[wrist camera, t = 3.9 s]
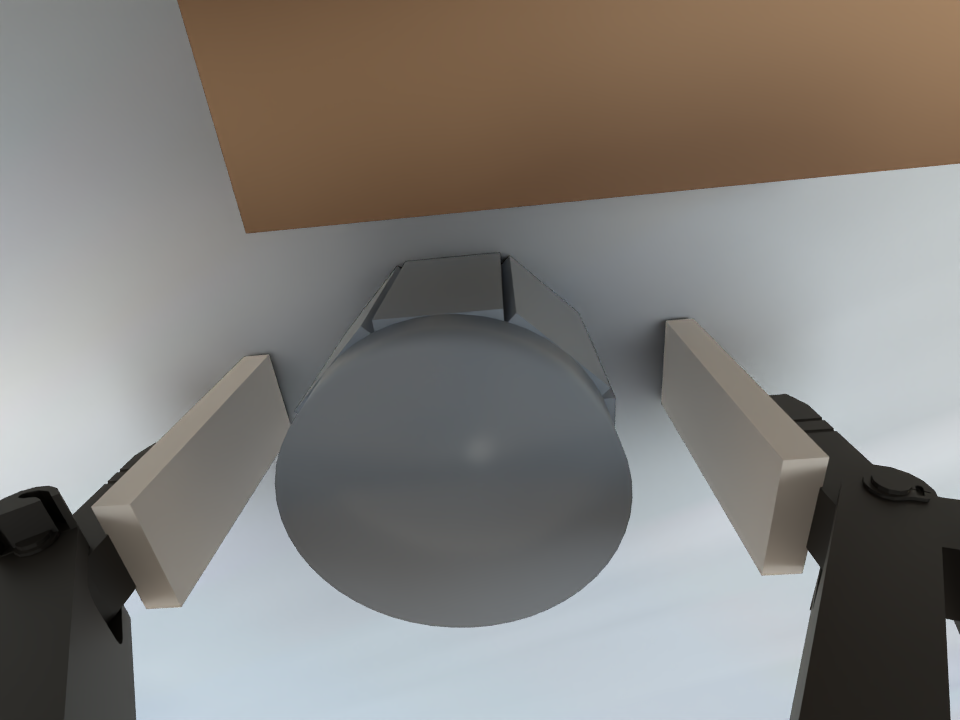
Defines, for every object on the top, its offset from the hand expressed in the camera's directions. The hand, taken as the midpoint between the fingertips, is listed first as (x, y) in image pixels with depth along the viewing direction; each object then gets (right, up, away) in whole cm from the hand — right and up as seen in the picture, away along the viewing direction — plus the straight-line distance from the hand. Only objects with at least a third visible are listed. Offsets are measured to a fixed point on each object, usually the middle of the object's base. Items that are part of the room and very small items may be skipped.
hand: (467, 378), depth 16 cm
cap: (0, 0, 0) cm, 0 cm away
